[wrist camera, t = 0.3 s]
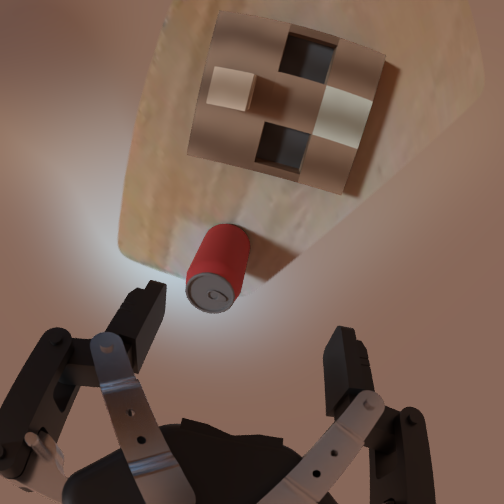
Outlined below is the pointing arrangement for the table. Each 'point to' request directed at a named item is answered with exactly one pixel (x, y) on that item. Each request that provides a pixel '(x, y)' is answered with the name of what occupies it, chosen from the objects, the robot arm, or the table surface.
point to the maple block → (231, 88)
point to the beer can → (218, 269)
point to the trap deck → (287, 101)
